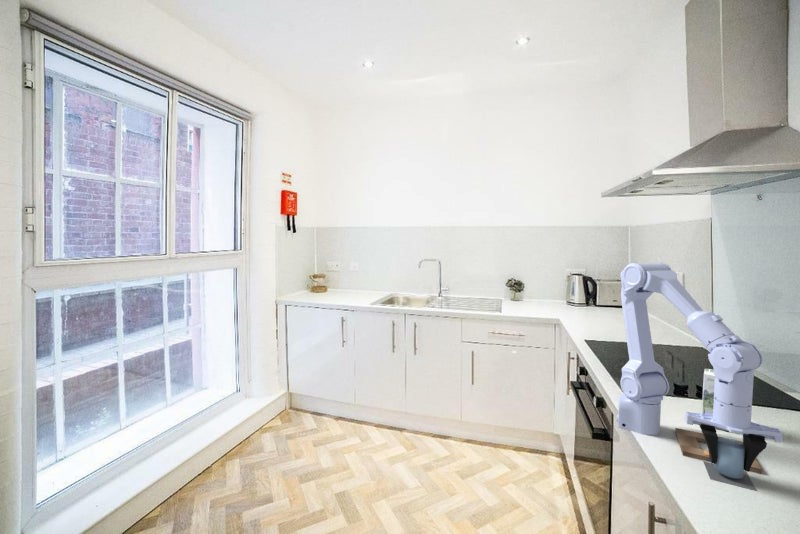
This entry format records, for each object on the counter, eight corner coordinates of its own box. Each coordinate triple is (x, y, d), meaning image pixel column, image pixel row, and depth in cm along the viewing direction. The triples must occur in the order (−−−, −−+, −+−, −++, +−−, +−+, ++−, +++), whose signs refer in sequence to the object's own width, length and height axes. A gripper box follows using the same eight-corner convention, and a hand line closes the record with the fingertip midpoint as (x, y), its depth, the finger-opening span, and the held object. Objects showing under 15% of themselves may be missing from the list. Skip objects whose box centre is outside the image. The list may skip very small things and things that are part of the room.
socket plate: (682, 459, 81) (683, 450, 81) (675, 435, 91) (675, 427, 91) (761, 478, 75) (761, 468, 74) (743, 450, 85) (744, 441, 85)
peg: (716, 473, 73) (718, 445, 73) (711, 462, 77) (713, 435, 77) (746, 481, 71) (748, 452, 71) (739, 469, 75) (741, 441, 75)
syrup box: (729, 424, 97) (732, 371, 96) (729, 432, 92) (732, 378, 92) (701, 417, 101) (704, 367, 100) (701, 425, 96) (703, 372, 95)
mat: (710, 483, 73) (710, 479, 73) (702, 465, 79) (703, 461, 79) (757, 496, 69) (757, 491, 69) (745, 475, 75) (746, 471, 75)
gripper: (690, 400, 73) (687, 464, 74) (790, 417, 66) (786, 488, 67) (685, 388, 80) (682, 447, 80) (776, 403, 72) (772, 467, 73)
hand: (728, 464), depth 74 cm, fingers closed on peg, 4 cm apart
